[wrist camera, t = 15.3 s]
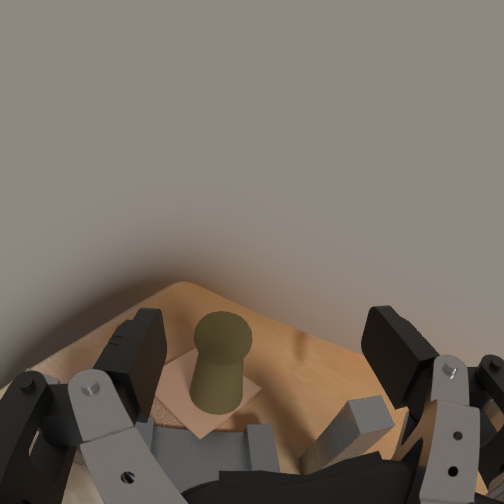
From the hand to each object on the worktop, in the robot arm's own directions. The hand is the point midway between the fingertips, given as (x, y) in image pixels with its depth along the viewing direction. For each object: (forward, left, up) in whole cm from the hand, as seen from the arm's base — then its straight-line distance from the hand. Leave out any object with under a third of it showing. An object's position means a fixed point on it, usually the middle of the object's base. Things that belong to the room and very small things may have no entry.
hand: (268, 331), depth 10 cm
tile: (-6, -9, -21) cm, 23 cm away
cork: (-7, -8, -20) cm, 23 cm away
